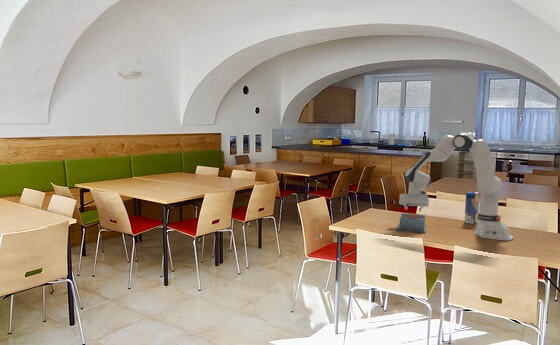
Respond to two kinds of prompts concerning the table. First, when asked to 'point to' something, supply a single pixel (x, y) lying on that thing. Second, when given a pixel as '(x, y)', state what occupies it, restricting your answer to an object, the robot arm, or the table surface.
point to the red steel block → (412, 215)
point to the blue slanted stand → (411, 225)
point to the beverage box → (471, 207)
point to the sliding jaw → (417, 216)
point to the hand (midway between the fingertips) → (413, 209)
